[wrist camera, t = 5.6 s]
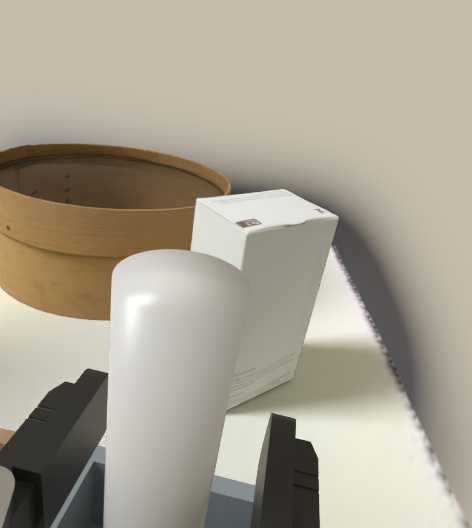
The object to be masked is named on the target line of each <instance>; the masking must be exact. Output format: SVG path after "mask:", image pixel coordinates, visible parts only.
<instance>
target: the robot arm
mask: <svg viewBox="0 0 472 528" xmlns="http://www.w3.org/2000/svg"><path fill="white" fill-rule="evenodd" d="M107 401H108V373H105V372H101V371H97V370H92V369H86V370H85V371H84V372H83V374H82V375H81V376H80V378H79V379H78V380H77V382H76V383H75V384H73V383H69V382H64V383H62V384H61V385H59V386H57V387H56V388H54V389H53V390H51V391H49V392H48V394H47V395H46V396H45V397H44V399H43V400H42V401H41V402H40V403H39V405H38V407H37V408H35V409H34V411H33V412H32V413H31V414H30V415H29V418H28V419H26V420H25V422H24V423H23V424H22V425H21V426H20V428H19V429H18V430H17V431H16V432H15V434H14V435H13V436H12V437H11V438H10V440H9V441H8V442H7V443H6V445H5V446H4V447H3V448H2V449H1V451H0V528H50V527H51V525H52V524H53V522H54V520H55V518H56V517H57V515H58V513H59V512H60V510H61V508H62V506H63V505H64V503H65V501H66V499H67V498H68V496H69V494H70V492H71V491H72V489H73V487H74V485H75V484H76V482H77V480H78V478H79V477H80V475H81V473H82V471H83V470H84V468H85V466H86V465H87V463H88V461H89V459H90V458H91V456H92V454H93V452H94V451H95V449H96V447H97V445H98V444H99V442H100V440H101V438H102V437H103V435H104V433H105V431H106V429H107ZM295 434H296V419H294V418H290V417H286V416H282V415H278V414H274V413H271V415H270V419H269V423H268V426H267V430H266V434H265V438H264V442H263V446H262V450H261V454H260V459H259V465H258V471H257V479H256V486H255V494H254V502H253V509H252V517H251V525H250V528H320V518H319V494H318V492H319V479H318V457H317V455H316V453H315V451H314V448H313V446H312V444H311V442H309V441H305V440H301V439H297V438H295Z"/></svg>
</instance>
